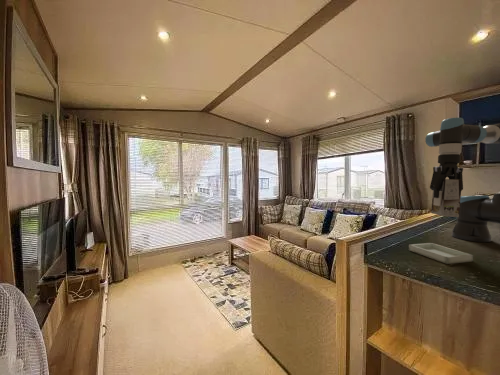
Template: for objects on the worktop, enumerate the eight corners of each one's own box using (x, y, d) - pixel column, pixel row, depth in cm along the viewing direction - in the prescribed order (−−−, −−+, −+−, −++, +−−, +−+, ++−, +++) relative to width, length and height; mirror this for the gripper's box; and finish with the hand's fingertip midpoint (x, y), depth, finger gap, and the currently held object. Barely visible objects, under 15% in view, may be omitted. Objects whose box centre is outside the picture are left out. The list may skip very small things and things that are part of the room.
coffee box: (459, 217, 96) (463, 179, 95) (442, 216, 97) (445, 178, 96) (446, 214, 105) (449, 179, 104) (430, 213, 106) (433, 178, 105)
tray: (431, 248, 104) (431, 242, 104) (472, 261, 88) (473, 255, 88) (408, 250, 101) (408, 244, 101) (447, 264, 85) (447, 257, 85)
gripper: (458, 156, 105) (454, 204, 107) (421, 153, 101) (417, 204, 102) (477, 155, 98) (473, 206, 99) (439, 152, 94) (434, 206, 95)
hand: (445, 205), depth 101 cm, fingers closed on coffee box, 8 cm apart
